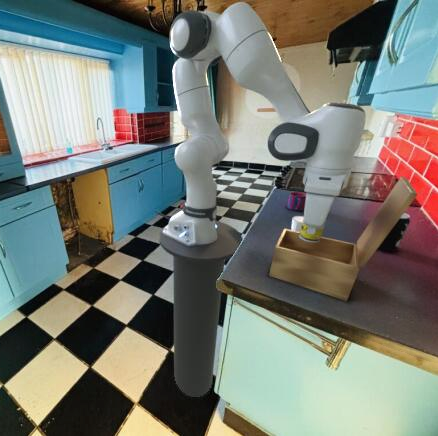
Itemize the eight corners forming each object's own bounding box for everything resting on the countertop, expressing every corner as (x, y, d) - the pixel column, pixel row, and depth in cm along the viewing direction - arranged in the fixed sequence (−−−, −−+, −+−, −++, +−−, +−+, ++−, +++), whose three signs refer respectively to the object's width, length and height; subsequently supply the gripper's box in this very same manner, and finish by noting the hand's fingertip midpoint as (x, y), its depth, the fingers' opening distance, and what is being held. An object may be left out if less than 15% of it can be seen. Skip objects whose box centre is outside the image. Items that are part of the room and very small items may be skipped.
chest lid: (411, 192, 44) (418, 194, 44) (401, 176, 53) (406, 177, 53) (358, 266, 54) (363, 267, 53) (356, 242, 63) (360, 243, 62)
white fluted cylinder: (314, 240, 84) (320, 222, 81) (296, 242, 83) (300, 224, 80) (302, 231, 90) (306, 214, 87) (284, 233, 90) (288, 216, 87)
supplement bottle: (295, 234, 66) (302, 206, 63) (313, 234, 66) (321, 206, 62) (304, 243, 62) (312, 213, 58) (323, 243, 61) (332, 213, 58)
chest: (269, 275, 68) (275, 246, 64) (278, 255, 77) (284, 228, 73) (346, 301, 58) (359, 268, 54) (346, 274, 67) (358, 244, 63)
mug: (303, 206, 111) (306, 192, 108) (304, 214, 103) (307, 199, 100) (287, 204, 114) (290, 191, 111) (286, 212, 106) (289, 198, 103)
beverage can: (389, 254, 74) (405, 220, 69) (365, 245, 79) (377, 212, 74) (400, 249, 76) (416, 215, 71) (376, 240, 82) (389, 208, 77)
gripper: (314, 167, 66) (303, 212, 72) (304, 186, 51) (291, 241, 57) (342, 169, 62) (328, 216, 68) (341, 191, 48) (323, 249, 54)
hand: (311, 228), depth 62 cm, fingers closed on supplement bottle, 5 cm apart
